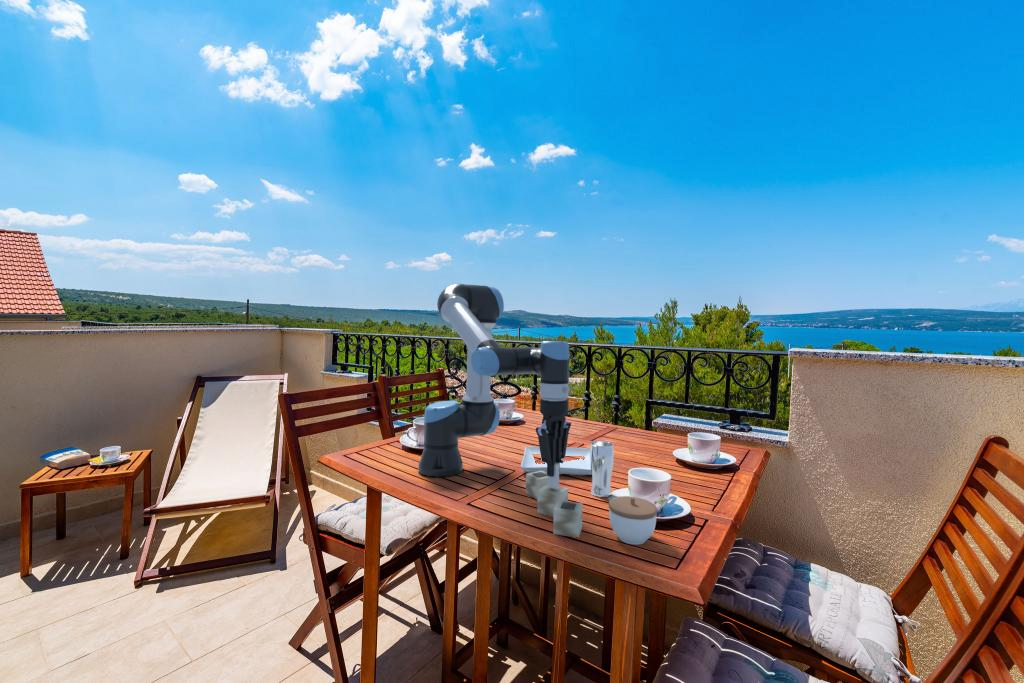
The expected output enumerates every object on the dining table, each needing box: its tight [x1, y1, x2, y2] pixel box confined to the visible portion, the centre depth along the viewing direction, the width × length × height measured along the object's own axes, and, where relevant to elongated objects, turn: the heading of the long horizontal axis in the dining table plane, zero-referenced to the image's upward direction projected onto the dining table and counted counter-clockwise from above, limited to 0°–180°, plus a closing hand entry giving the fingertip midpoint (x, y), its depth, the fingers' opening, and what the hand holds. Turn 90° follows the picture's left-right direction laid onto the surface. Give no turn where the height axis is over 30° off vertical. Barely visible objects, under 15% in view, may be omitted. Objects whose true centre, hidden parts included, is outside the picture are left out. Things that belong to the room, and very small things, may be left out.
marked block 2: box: [552, 500, 583, 539], centre depth 98 cm, size 6×6×6 cm
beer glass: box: [589, 440, 615, 498], centre depth 121 cm, size 7×7×15 cm
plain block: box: [536, 485, 569, 518], centre depth 108 cm, size 6×6×6 cm
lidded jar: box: [608, 495, 658, 546], centre depth 94 cm, size 11×11×9 cm
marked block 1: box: [525, 471, 548, 501], centre depth 120 cm, size 6×6×6 cm
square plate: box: [520, 446, 592, 476], centre depth 148 cm, size 27×27×4 cm
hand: (553, 487), depth 108 cm, fingers closed
